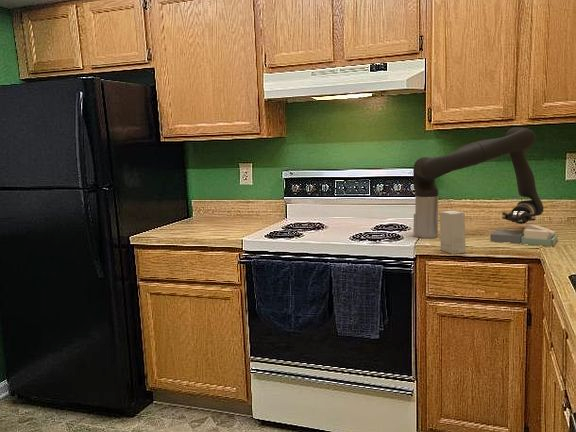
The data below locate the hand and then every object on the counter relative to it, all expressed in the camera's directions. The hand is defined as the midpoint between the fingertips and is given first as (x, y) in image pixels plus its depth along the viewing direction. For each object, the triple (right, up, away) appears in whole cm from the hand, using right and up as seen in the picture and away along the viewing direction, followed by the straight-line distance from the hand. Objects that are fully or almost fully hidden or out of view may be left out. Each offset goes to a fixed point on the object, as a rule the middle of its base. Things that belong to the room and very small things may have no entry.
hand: (514, 219), depth 201 cm
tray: (+10, -9, +1) cm, 13 cm away
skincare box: (-27, -12, -9) cm, 31 cm away
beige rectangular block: (+7, -3, +5) cm, 9 cm away
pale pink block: (+4, -6, 0) cm, 8 cm away
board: (+1, -8, +7) cm, 11 cm away
